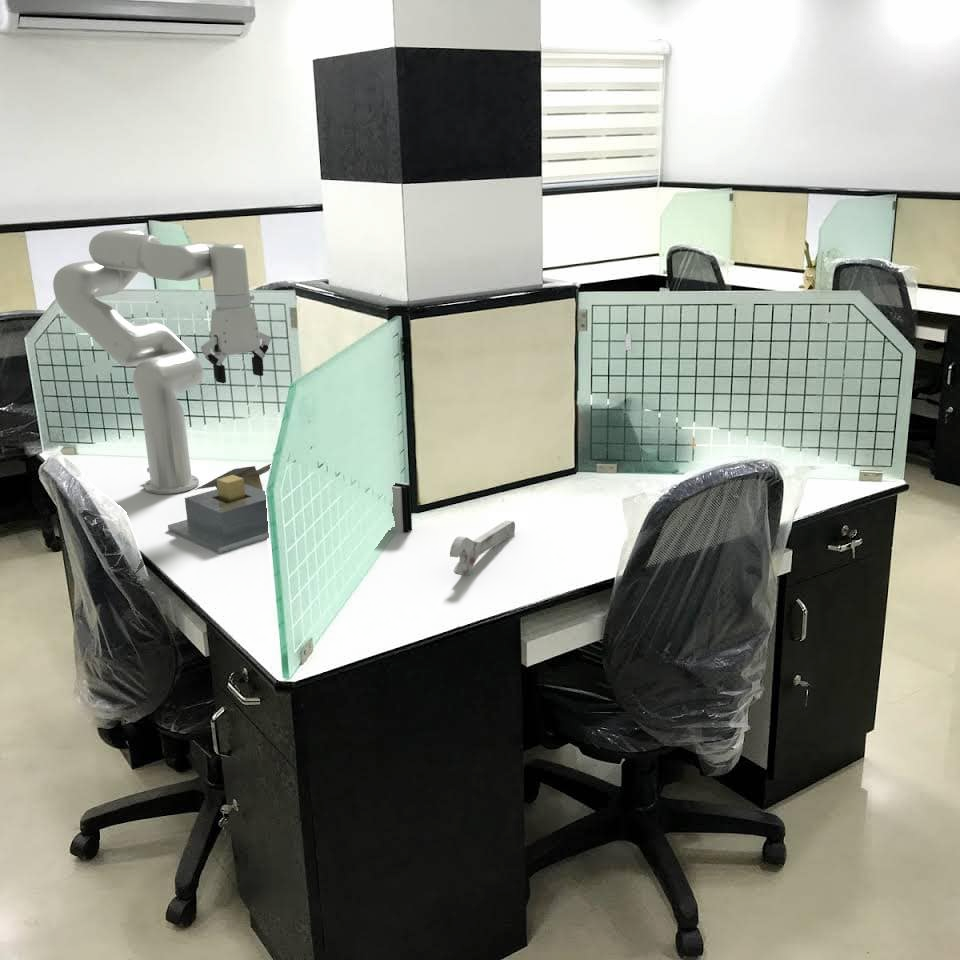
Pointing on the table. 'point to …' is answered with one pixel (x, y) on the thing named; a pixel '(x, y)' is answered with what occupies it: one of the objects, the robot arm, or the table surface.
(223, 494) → the brass pin
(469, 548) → the wrench
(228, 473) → the beige piece
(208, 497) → the collar block
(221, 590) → the table surface
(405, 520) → the hinge
